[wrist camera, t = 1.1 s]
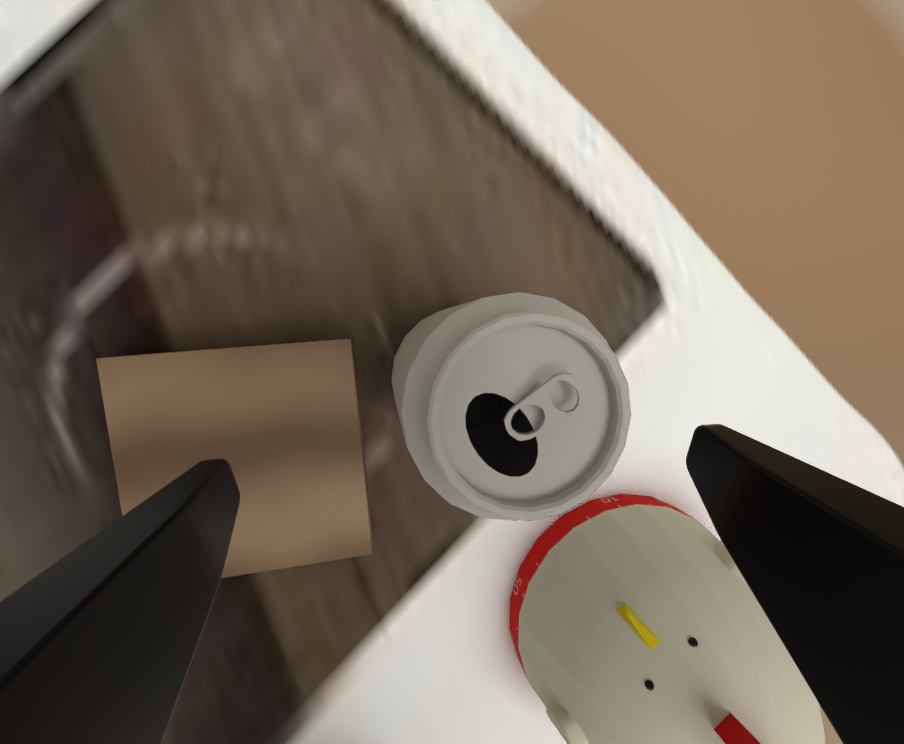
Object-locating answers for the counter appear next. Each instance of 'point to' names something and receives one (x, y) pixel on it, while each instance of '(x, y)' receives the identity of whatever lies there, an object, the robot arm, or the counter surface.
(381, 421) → the counter surface
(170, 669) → the robot arm
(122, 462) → the brown flat square block
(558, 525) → the kitchen timer
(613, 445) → the can
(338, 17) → the counter surface
